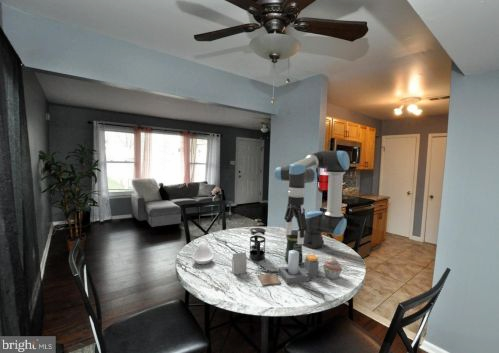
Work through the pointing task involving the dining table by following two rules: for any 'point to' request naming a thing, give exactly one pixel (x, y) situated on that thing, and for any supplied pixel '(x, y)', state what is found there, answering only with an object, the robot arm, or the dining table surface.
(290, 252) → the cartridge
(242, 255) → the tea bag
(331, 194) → the robot arm
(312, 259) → the orange block
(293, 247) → the coffee jar
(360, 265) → the dining table surface
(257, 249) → the french press
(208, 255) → the spoon rest
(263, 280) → the pad
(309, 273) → the housing
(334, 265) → the cupcake
